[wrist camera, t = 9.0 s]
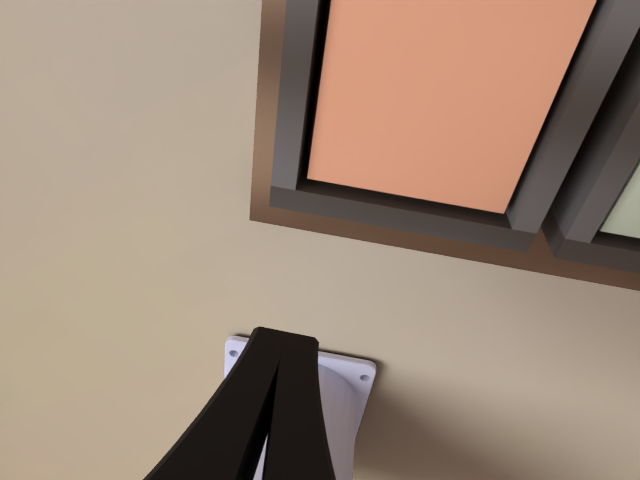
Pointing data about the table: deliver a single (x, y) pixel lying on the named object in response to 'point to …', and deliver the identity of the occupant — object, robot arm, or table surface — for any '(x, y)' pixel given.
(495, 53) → the terracotta key
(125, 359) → the table surface
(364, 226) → the key board
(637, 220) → the sage key
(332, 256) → the table surface
